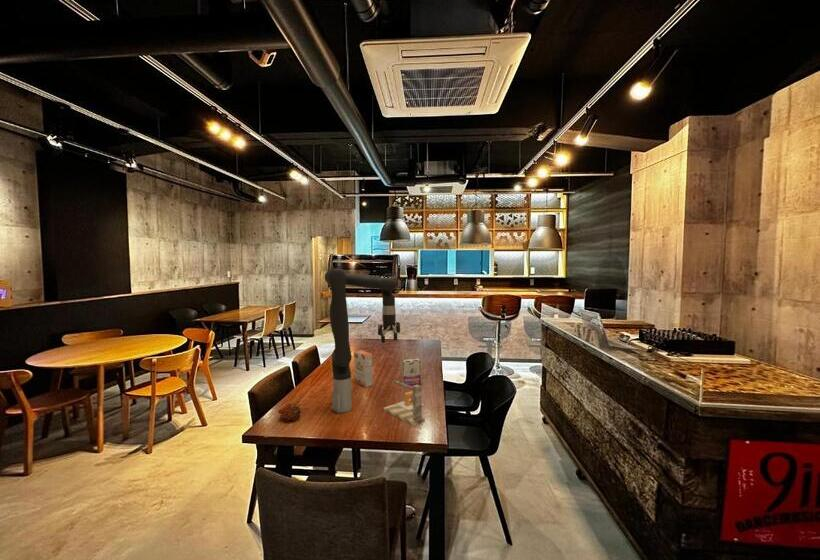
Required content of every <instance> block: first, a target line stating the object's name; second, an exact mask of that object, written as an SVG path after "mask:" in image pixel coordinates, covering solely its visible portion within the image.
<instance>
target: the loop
mask: <svg viewBox="0 0 820 560" xmlns="http://www.w3.org/2000/svg"><path fill="white" fill-rule="evenodd" d="M403 394H404V401H405V405H406V406H410V405H413V390H411V391H408V392H407V391H406V392H404V393H403ZM409 399H411V401H409Z"/></svg>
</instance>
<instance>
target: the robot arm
mask: <svg viewBox="0 0 820 560" xmlns="http://www.w3.org/2000/svg"><path fill="white" fill-rule="evenodd" d="M324 280H325V282H326V283H327V284H328V285H330V291H331V300H330V307H329V321H330V322H329V323H330V327H331V332H332V336H333V339H334V349H333V351H332V354H331V365H332V367H331V370H332V376H333V378H332V380H333V391H332V392H331V403H332V405H331V406H332V411H334V412H335V413H336V414H341V413H347V412H350V411H351V410H352V372H351V367H350V363H351V362H352V350H351V346H350V340H349V337H350V336H349V334H350V333H349V331H350V330H349V315H348V305H347V304H348V303H347V296H346V292H347V291H346V288H347V287H346V286H354V287H358V288H359V287H360V288H365V289H372V290H380V292H381V297H382V311H381V313H382V317H381V318H382V319H381V320H382V324H378V325H377V335H378V336H380V338H381V339H380V341H381V343H383V344H384V343H386V336H385V335H386V334H387V333H388V332H392V333H393V341H395V342H396V341H397V340H398V334H399V333H400V332H401V323H400V322H399V321H396V319H397V317H396V316H397V315H396V299H395V295H394V294H393V291H394V290H396V289H397V286H398V284H397V281H396V280H395V279H394V278H390V277H379V276H376V275H369V274H368V275H367V274H355V273H354V274H353V273H348V272H345V271H344V270H343V269H340V268H336V267H335V268H330V269H328V270H327V271H326V273H325V274H324Z"/></svg>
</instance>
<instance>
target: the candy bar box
mask: <svg viewBox="0 0 820 560" xmlns="http://www.w3.org/2000/svg"><path fill="white" fill-rule="evenodd" d="M401 367H402V368H401V371H402V373H401V374H402V383H404V384H407V385H409V386H412V387H413V386H414V385H420V386H422V385H421V384H422V383H421V382H422V381H421V380H422V379H421V360H420V358H407V359H406V358H405V359H401Z"/></svg>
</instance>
